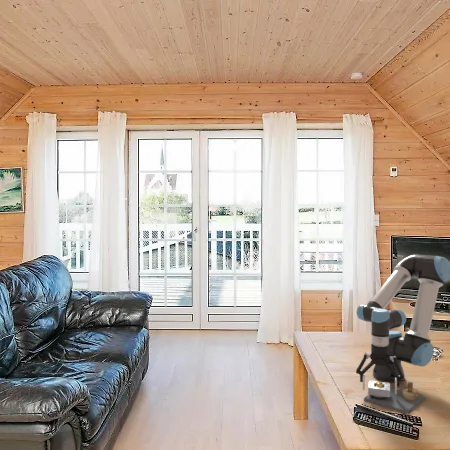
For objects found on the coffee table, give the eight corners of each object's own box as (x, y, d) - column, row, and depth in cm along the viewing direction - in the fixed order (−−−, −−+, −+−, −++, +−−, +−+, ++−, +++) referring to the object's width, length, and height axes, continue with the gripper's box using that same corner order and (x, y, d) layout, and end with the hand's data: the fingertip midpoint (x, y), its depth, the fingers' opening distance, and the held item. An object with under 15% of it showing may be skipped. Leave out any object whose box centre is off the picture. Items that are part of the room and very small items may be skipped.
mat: (384, 387, 216) (384, 385, 216) (425, 399, 203) (425, 397, 203) (364, 400, 202) (364, 397, 202) (406, 414, 188) (406, 411, 188)
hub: (375, 391, 208) (375, 378, 208) (390, 396, 203) (390, 383, 203) (367, 396, 203) (368, 383, 203) (382, 401, 198) (383, 387, 198)
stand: (405, 394, 206) (406, 378, 205) (419, 398, 201) (419, 382, 201) (400, 398, 201) (400, 382, 201) (413, 402, 197) (414, 386, 197)
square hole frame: (369, 386, 209) (369, 380, 209) (389, 389, 206) (389, 383, 206) (368, 394, 200) (368, 387, 200) (389, 397, 197) (389, 390, 197)
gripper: (350, 344, 203) (350, 390, 204) (410, 349, 194) (410, 398, 195) (351, 339, 210) (351, 384, 211) (409, 344, 202) (409, 391, 203)
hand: (379, 391), depth 203 cm, fingers open, 13 cm apart
